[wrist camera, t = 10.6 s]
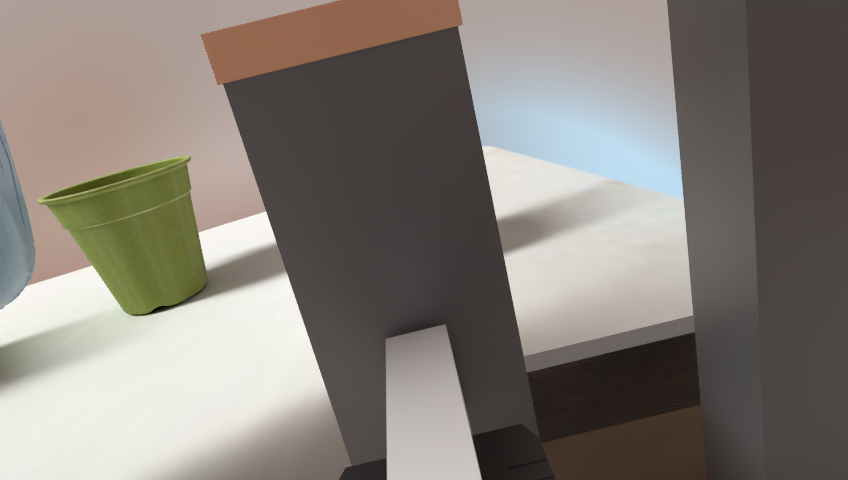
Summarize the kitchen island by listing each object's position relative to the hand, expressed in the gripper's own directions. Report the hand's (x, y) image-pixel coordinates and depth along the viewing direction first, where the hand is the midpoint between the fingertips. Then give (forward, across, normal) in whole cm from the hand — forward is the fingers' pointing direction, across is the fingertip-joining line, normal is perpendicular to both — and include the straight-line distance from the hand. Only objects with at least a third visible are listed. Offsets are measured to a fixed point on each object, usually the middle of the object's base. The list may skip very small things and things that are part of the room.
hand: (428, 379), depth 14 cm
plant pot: (+36, -23, -8) cm, 43 cm away
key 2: (+2, 0, -6) cm, 6 cm away
